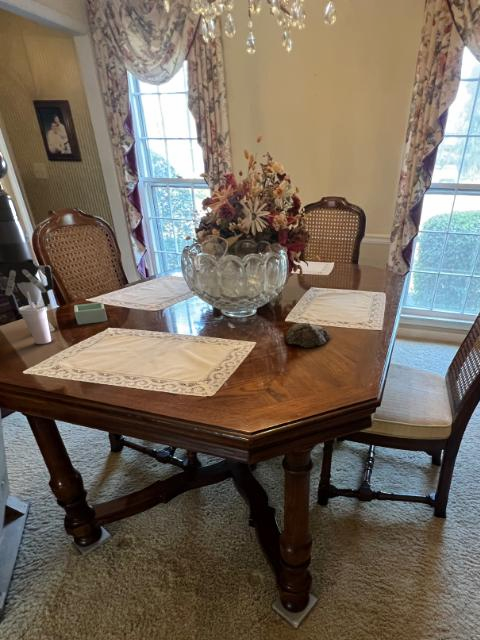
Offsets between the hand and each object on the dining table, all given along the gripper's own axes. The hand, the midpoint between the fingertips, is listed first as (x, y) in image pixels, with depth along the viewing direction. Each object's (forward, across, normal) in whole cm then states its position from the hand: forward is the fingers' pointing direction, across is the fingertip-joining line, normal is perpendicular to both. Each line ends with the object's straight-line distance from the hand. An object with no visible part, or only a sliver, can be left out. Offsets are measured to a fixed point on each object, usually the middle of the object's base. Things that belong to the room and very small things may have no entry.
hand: (32, 307), depth 101 cm
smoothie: (+10, 0, 0) cm, 10 cm away
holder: (+10, +13, +18) cm, 24 cm away
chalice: (+10, 0, +12) cm, 16 cm away
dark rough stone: (+10, +67, -31) cm, 75 cm away
